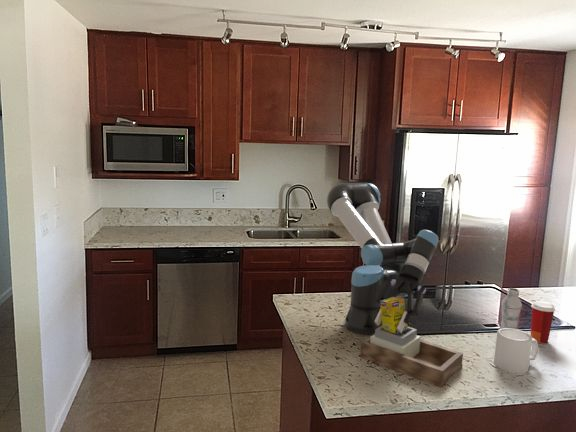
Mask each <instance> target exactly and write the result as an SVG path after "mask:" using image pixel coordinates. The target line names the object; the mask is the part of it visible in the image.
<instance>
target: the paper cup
mask: <svg viewBox="0 0 576 432" xmlns="http://www.w3.org/2000/svg"><path fill="white" fill-rule="evenodd" d="M530 307H531V320H530V321H531V325H530V335H531V336H532V338H534V339H535V340H536V341H537V344H543V345H545V344H548V342H549V338H550V333H551V328H552V323H553V319H554V313H555V312H556V308H555V305H554V304H553V303H550V302H547V301H540V300H536V301H533V302H532V303H531V305H530Z"/></svg>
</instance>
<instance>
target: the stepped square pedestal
mask: <svg viewBox="0 0 576 432" xmlns="http://www.w3.org/2000/svg"><path fill="white" fill-rule="evenodd" d="M417 334H418V329H417V328H414V327H410V326H408V331H407V332H404V333H401V334H398V335H395V334H392V333H389V332H386V331H383V325H382V326H381V327H379V328H377V329H375V334H372V335H373V336H372V335H371V338H370V343H372V344H375V345H378V346H380V347H383V348H386V349H389V350H392V351H394V352H397V353H400V354H403V355H406V356H409V357H411V358H413V357H414V356H416V355H417V354H418V353H419V351H420V339H421V338H422V337H421V336H420V335H417Z"/></svg>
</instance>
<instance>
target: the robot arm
mask: <svg viewBox="0 0 576 432" xmlns="http://www.w3.org/2000/svg"><path fill="white" fill-rule="evenodd" d="M326 202H327V208H328V209H329V212H331V214H332V215H333V216H334V217H337V218H338V219H339V221H340V222H341V223H342V224H343V226H344V227H345V228H346V230H347V232H349V234H350V235H351V237H352V238H353V239H354V240H355V242H356V243H357V245H358V246H359V248H361V251H360V258H362V262H363V264H365V265H360V266H358V267H356V268H354V270H353V271H352V272H351V273H352V274H351V281H350V283H351V286H350V287H351V289H350V304H349V305H350V306H349V309H348V311H347V314H346V316H345V320H344V326H345V328H346V329H347V330H349V331H350V332H352V333H355V334H358V335H359V334H360V335H368V336H369V335H374V334H375V329H377V328H379V327H381V326H382V325H383V323H382V315H381V307H380V301H381V300H385V299H388V298H391V297H396V298H401V299H404V298H406V297H407V298H406V299H407V300H406V301H407V309H406V311H405V312H404V314H403V316H402V318H401V321H400V323H399V325H398V327H397V329H398V331H399V332H400V333H402V331H403V328H404V326H405V324H407V325H408V324H409V323H410V321H411V319H412V317H413V316H419V315H420V312H421V307H422V304H423V298H424V296H425V294H426V293H427V288H426V287H425V285H420V284H421V283H422V281H423V278H424V274H426V271H427V268H428V266H429V264H430V262H431V260H432V257H433V255H434V253H435V251H436V249H437V246H438V243H439V241H440V240H439V236H438V235H437V234H436V233H435V232H433V231H432V230H428V229H422V230H419V232H418V233H417V235H416V237H415V238H413V239H411V240H408V241H402V242H392V241H391V238H390V236H389V233H388V231H387V229H386V227H385V224H384V222H383V220H382V217H381V215H380V212H379V211H378V210H379V208H380V203H381V192H380V190H379V188H378V187H377V186H376V185H375V184H373V183H368V182H359V183H357V182H355V183H352V182H351V183H350V182H349V183H345V182H344V183H338V184H337V185H334V186H333V187H332V188H331V189H330V190H329V192H328V194H327V197H326ZM416 291H417V295H416V298H415V302H414V293H415V292H416Z"/></svg>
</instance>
